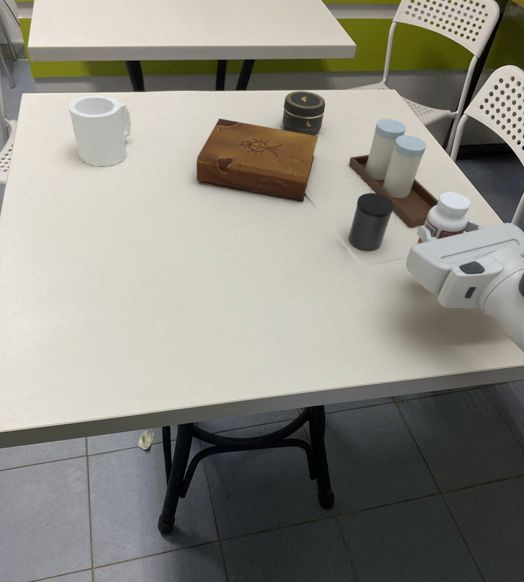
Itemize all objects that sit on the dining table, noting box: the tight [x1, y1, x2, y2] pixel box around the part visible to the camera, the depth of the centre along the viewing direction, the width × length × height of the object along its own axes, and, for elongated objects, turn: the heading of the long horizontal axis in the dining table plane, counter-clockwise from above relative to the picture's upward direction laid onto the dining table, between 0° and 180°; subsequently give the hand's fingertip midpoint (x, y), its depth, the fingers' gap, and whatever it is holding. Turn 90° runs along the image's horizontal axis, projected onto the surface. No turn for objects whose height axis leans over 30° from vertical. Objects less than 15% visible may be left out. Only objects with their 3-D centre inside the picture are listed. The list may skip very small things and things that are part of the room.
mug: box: [68, 94, 132, 167], centre depth 106 cm, size 14×10×11 cm
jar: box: [282, 90, 326, 136], centre depth 121 cm, size 10×10×8 cm
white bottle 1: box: [365, 118, 407, 180], centre depth 108 cm, size 6×6×11 cm
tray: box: [348, 154, 439, 229], centre depth 108 cm, size 25×10×2 cm, turn 23°
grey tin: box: [348, 192, 394, 252], centre depth 93 cm, size 7×7×9 cm
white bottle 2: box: [383, 134, 427, 198], centre depth 104 cm, size 6×6×11 cm
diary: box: [196, 118, 318, 202], centre depth 108 cm, size 23×19×6 cm
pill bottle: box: [416, 191, 471, 244], centre depth 80 cm, size 6×6×11 cm
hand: (440, 224), depth 80 cm, fingers closed on pill bottle, 6 cm apart
